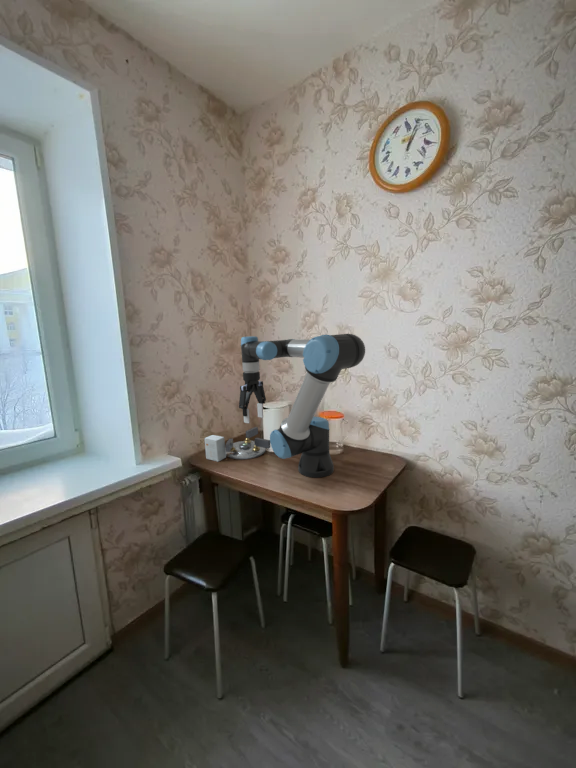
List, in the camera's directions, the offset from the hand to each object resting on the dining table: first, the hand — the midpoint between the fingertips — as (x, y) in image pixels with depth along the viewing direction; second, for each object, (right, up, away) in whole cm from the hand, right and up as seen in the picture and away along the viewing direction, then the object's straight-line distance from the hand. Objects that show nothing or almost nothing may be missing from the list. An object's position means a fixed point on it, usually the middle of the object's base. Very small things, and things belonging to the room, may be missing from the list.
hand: (253, 419), depth 152 cm
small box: (-19, -19, +7) cm, 28 cm away
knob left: (-12, -17, +8) cm, 22 cm away
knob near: (+3, -16, +9) cm, 18 cm away
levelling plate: (-6, -17, +15) cm, 23 cm away
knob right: (-4, -13, +24) cm, 28 cm away
